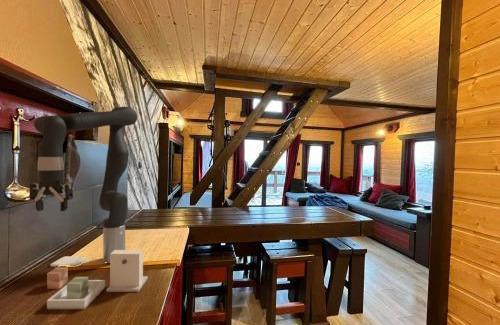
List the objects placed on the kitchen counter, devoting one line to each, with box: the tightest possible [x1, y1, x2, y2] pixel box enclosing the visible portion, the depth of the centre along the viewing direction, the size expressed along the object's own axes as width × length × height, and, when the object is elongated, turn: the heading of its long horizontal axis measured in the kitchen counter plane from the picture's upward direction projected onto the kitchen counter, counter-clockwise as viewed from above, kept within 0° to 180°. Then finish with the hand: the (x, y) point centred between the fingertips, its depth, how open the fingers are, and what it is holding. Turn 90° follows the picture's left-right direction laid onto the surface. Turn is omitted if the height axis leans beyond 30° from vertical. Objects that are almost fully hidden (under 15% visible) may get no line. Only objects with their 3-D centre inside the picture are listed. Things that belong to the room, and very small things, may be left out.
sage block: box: [66, 276, 89, 299], centre depth 84 cm, size 4×4×6 cm
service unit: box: [105, 249, 149, 293], centre depth 93 cm, size 9×12×14 cm
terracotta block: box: [46, 267, 69, 290], centre depth 91 cm, size 4×4×6 cm
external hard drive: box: [49, 255, 90, 268], centre depth 109 cm, size 2×8×12 cm
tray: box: [46, 279, 106, 311], centre depth 84 cm, size 12×12×3 cm
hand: (51, 210), depth 89 cm, fingers open, 8 cm apart
